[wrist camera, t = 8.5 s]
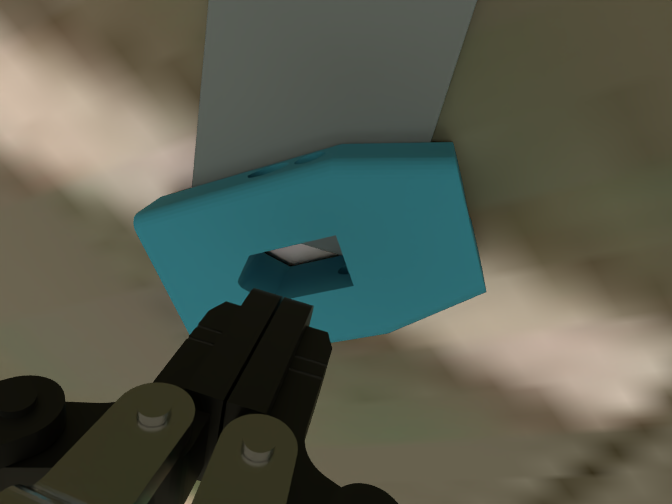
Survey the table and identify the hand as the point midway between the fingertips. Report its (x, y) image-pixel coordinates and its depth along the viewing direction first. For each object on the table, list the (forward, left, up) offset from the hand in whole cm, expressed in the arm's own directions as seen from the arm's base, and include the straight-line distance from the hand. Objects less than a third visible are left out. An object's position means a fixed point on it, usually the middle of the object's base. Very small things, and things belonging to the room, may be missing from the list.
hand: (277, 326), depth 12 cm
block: (-7, +3, -19) cm, 20 cm away
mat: (+4, 0, -22) cm, 22 cm away
